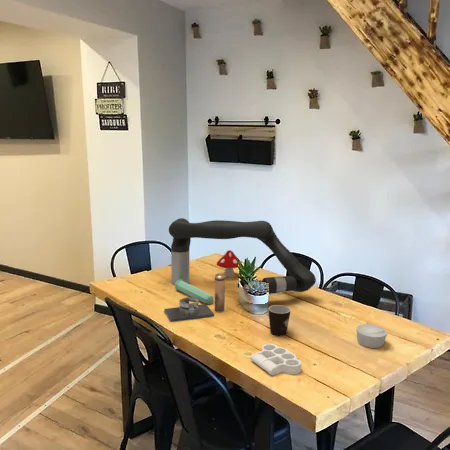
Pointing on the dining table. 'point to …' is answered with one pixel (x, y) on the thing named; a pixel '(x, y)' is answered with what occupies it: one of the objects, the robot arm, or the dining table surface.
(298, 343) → the dining table surface
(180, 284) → the container
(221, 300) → the metal tube
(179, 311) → the stove plate
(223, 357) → the dining table surface
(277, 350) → the grey compartment tray
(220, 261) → the decorative mushroom
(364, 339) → the ramekin
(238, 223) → the robot arm
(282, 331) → the coffee mug
